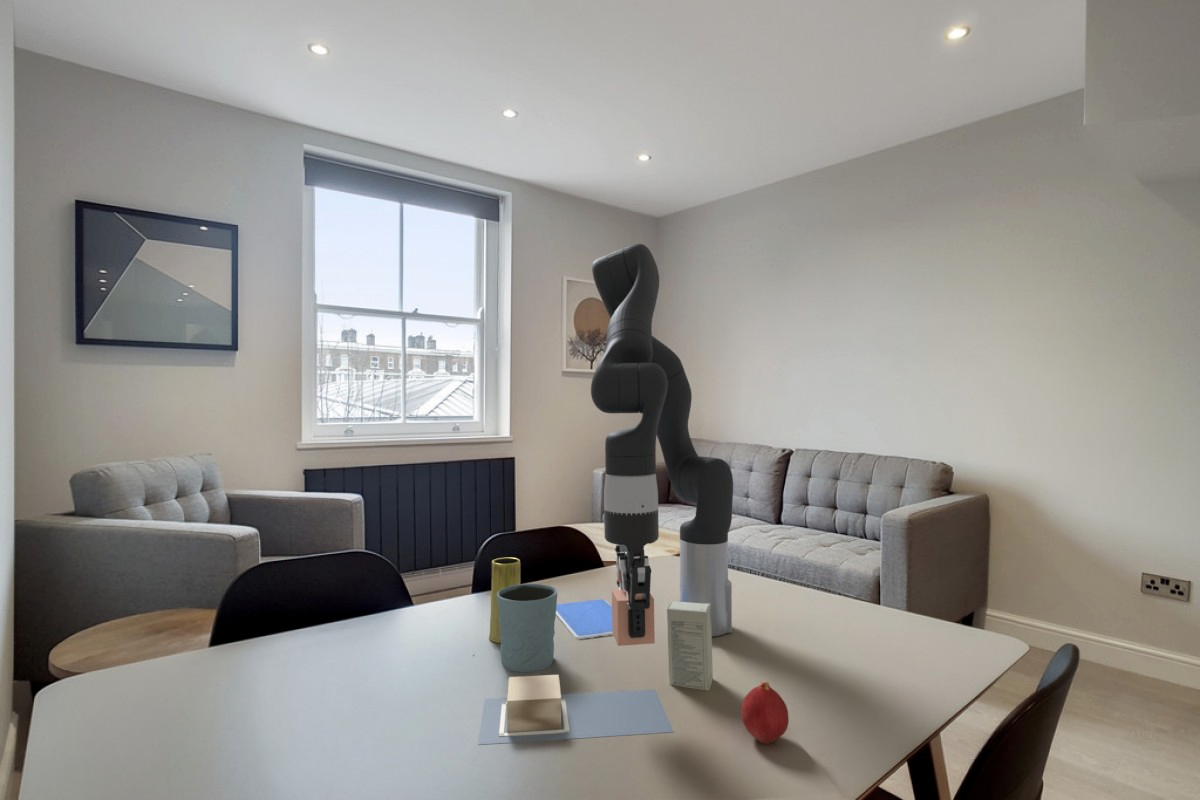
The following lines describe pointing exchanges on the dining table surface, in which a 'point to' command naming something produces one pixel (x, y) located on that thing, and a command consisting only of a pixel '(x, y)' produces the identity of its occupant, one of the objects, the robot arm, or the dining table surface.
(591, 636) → the tablet computer
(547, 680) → the oak base block
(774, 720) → the onion
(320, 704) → the dining table surface
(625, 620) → the terracotta block
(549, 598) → the grey-green pot
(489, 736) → the board
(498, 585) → the vase
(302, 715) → the dining table surface
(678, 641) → the skincare box
